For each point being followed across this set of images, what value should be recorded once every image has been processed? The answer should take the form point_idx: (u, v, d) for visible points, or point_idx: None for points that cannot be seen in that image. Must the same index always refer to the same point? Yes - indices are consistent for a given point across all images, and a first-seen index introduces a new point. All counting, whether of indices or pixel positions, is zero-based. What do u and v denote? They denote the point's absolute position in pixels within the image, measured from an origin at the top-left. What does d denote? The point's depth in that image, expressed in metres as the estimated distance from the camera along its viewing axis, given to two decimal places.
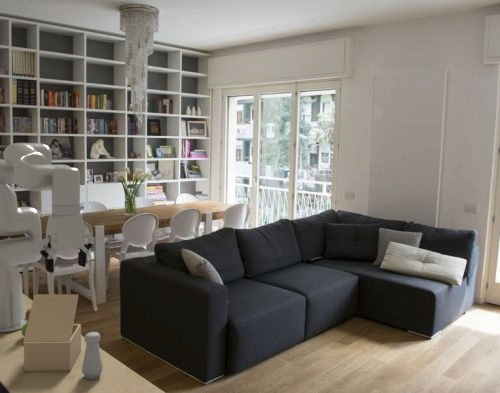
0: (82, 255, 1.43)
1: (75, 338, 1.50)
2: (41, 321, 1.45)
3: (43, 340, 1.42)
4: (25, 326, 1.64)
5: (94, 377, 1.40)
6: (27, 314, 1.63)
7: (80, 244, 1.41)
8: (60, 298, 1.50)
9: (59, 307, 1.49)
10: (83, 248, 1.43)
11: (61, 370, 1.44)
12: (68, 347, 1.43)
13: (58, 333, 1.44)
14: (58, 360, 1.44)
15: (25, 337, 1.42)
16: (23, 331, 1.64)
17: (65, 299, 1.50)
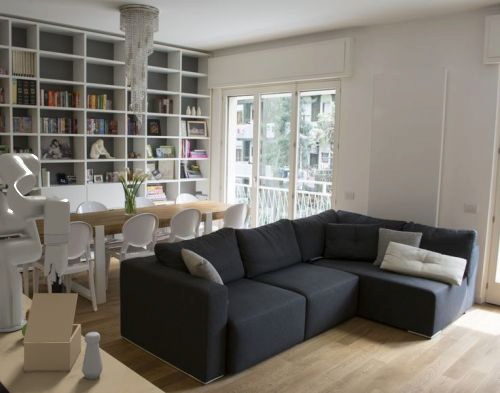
0: None
1: (75, 338, 1.50)
2: (41, 321, 1.45)
3: (43, 340, 1.42)
4: (25, 326, 1.64)
5: (94, 377, 1.40)
6: (27, 314, 1.63)
7: (66, 266, 1.55)
8: (59, 297, 1.50)
9: (59, 306, 1.48)
10: (63, 276, 1.53)
11: (61, 370, 1.44)
12: (68, 347, 1.43)
13: (57, 333, 1.44)
14: (58, 360, 1.44)
15: (25, 337, 1.42)
16: (23, 331, 1.64)
17: (64, 298, 1.50)
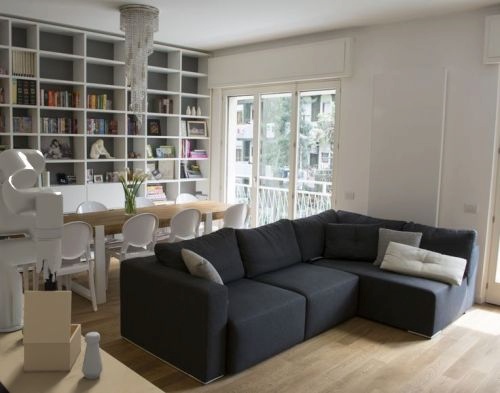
0: None
1: (75, 338, 1.50)
2: (37, 321, 1.42)
3: (43, 341, 1.42)
4: None
5: (94, 377, 1.40)
6: None
7: (60, 263, 1.47)
8: (52, 295, 1.42)
9: (53, 306, 1.42)
10: (56, 273, 1.45)
11: (61, 370, 1.44)
12: (68, 347, 1.43)
13: (56, 334, 1.42)
14: (58, 360, 1.44)
15: (24, 338, 1.41)
16: None
17: (57, 297, 1.42)
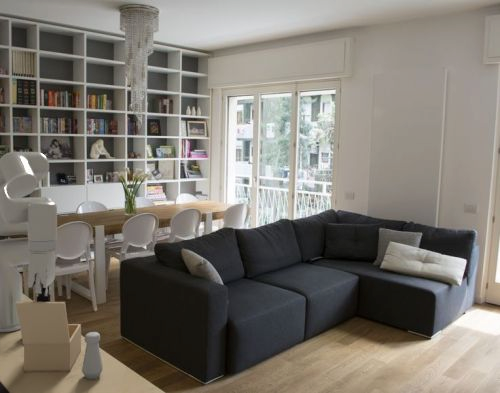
0: None
1: (75, 338, 1.50)
2: (34, 327, 1.39)
3: (43, 342, 1.42)
4: None
5: (94, 377, 1.40)
6: None
7: (54, 276, 1.40)
8: (45, 306, 1.36)
9: (48, 315, 1.37)
10: (49, 286, 1.39)
11: (61, 370, 1.44)
12: (68, 347, 1.43)
13: (55, 337, 1.41)
14: (58, 360, 1.44)
15: (23, 340, 1.41)
16: None
17: (51, 308, 1.36)
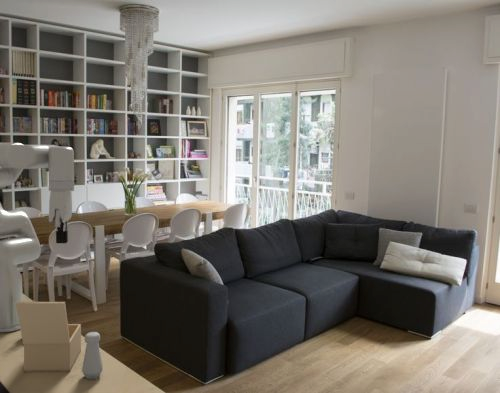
0: None
1: (75, 338, 1.50)
2: (34, 327, 1.39)
3: (43, 342, 1.42)
4: None
5: (94, 377, 1.40)
6: None
7: (71, 215, 1.58)
8: (45, 306, 1.36)
9: (48, 315, 1.37)
10: (67, 223, 1.57)
11: (61, 370, 1.44)
12: (68, 347, 1.43)
13: (55, 337, 1.41)
14: (58, 360, 1.44)
15: (23, 340, 1.41)
16: None
17: (51, 308, 1.36)
